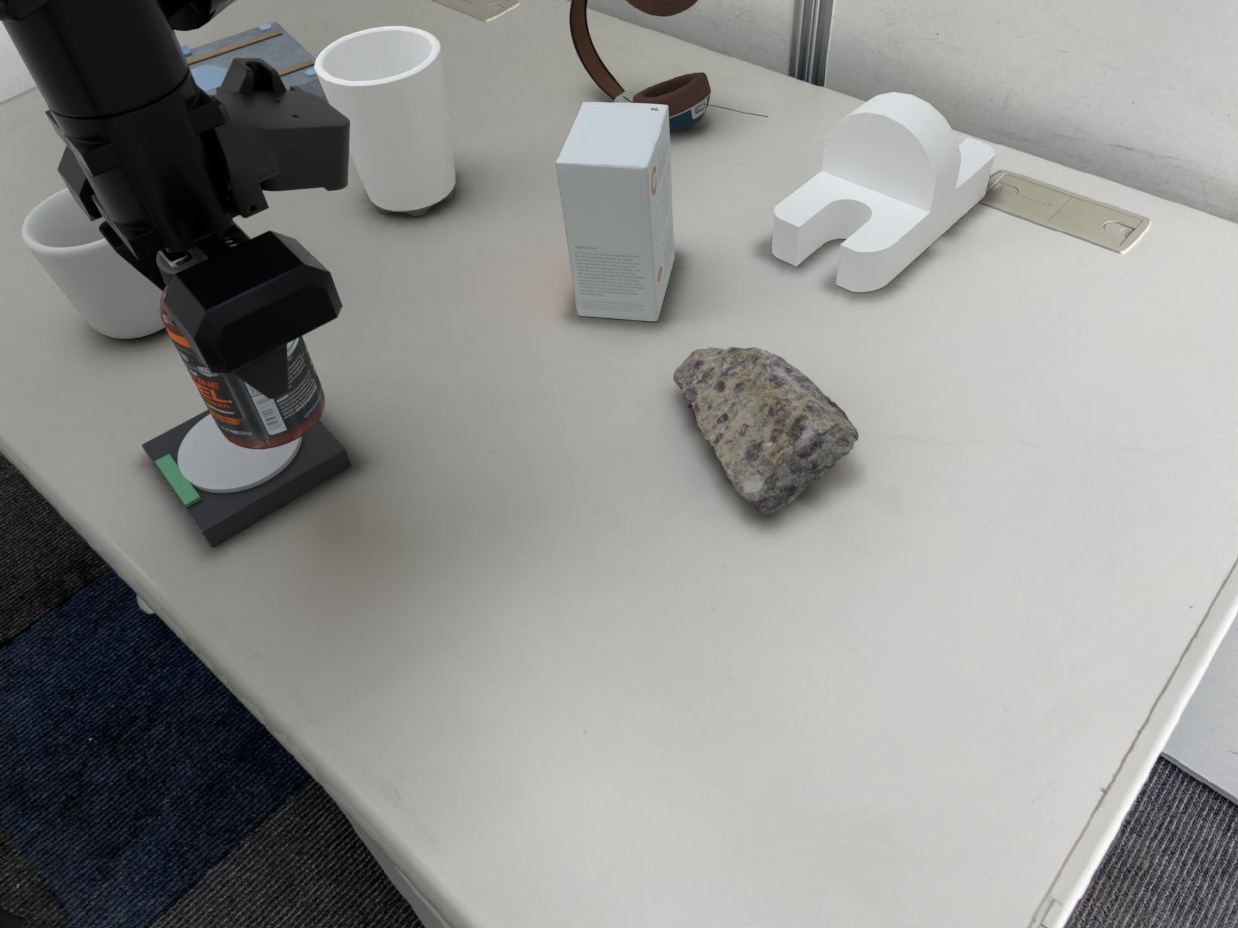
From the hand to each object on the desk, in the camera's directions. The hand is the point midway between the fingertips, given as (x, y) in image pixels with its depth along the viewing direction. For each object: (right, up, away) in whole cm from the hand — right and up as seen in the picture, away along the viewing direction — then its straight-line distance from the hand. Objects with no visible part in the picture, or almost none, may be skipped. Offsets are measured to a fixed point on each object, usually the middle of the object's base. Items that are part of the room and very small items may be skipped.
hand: (253, 363), depth 52 cm
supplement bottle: (0, -3, +3) cm, 4 cm away
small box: (+20, +8, +23) cm, 32 cm away
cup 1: (-19, +7, +26) cm, 33 cm away
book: (-20, +29, +45) cm, 57 cm away
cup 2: (+2, +18, +34) cm, 38 cm away
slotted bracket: (+40, +14, +27) cm, 50 cm away
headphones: (+24, +26, +39) cm, 53 cm away
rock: (+28, -4, +12) cm, 31 cm away
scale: (-5, -5, +13) cm, 15 cm away
